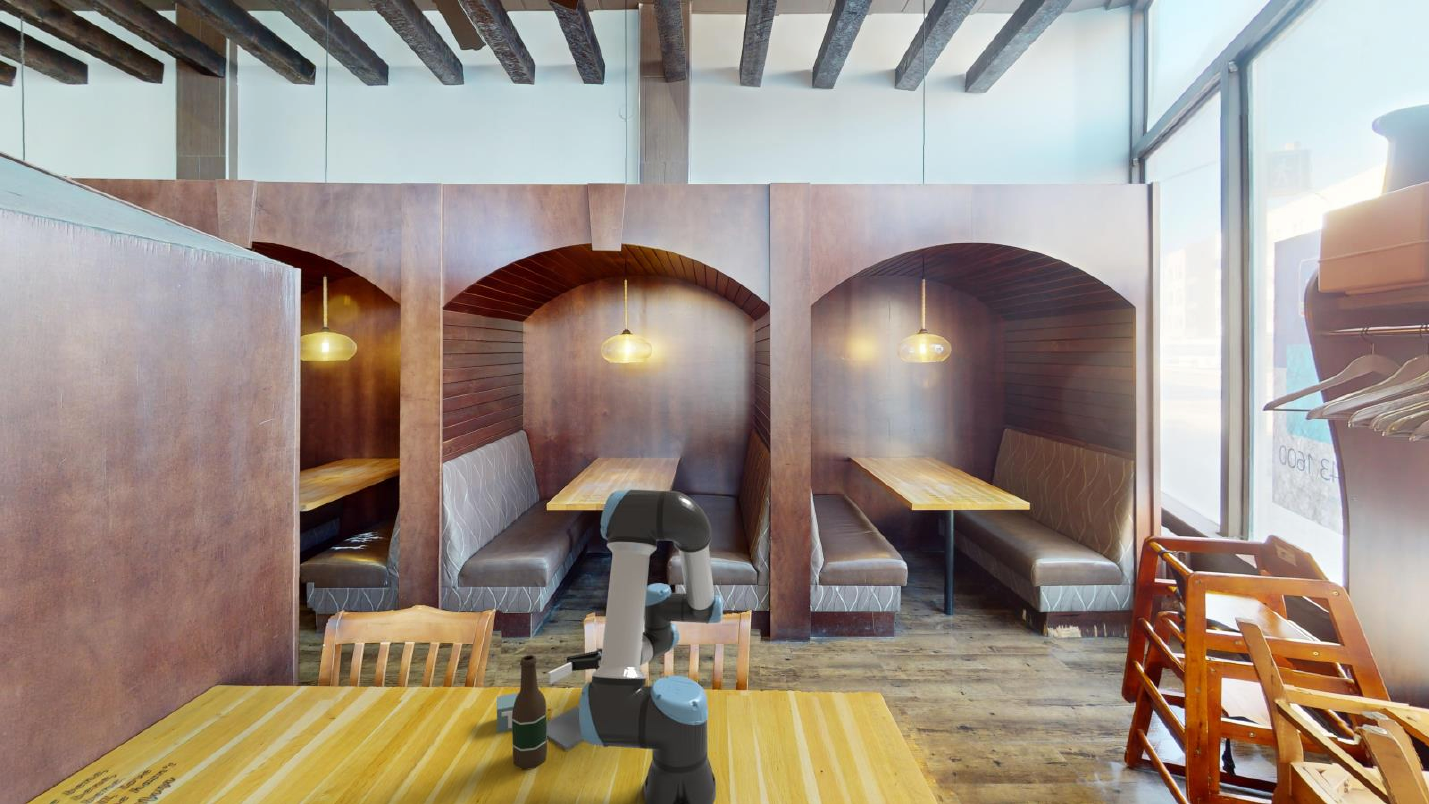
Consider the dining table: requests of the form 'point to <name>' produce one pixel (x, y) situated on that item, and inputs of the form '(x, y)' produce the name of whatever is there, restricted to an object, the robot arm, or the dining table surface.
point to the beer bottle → (529, 719)
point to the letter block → (505, 712)
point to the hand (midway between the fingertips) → (565, 687)
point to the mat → (565, 729)
